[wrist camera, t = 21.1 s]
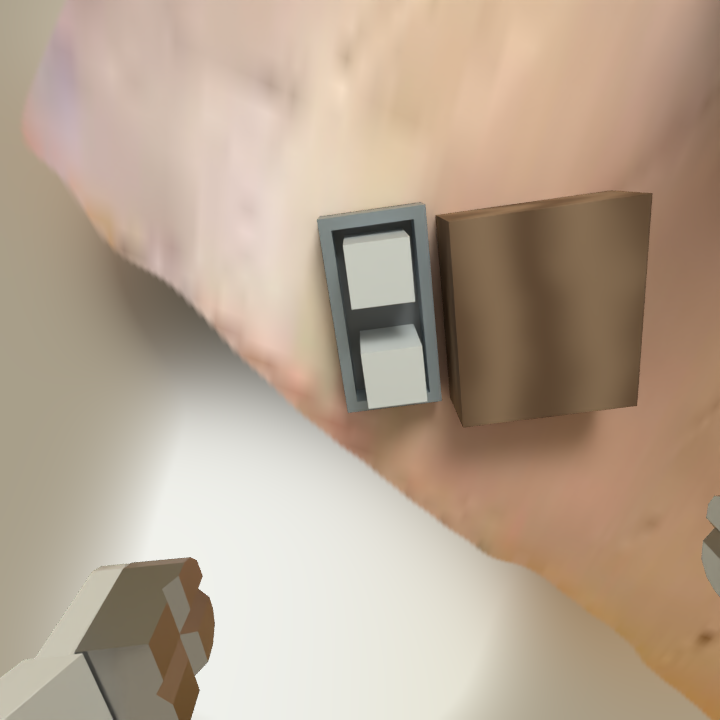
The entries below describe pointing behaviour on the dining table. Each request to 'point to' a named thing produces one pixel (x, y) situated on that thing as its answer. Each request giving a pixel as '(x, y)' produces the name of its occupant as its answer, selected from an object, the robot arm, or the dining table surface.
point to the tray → (381, 316)
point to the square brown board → (544, 305)
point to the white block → (379, 268)
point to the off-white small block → (393, 366)
